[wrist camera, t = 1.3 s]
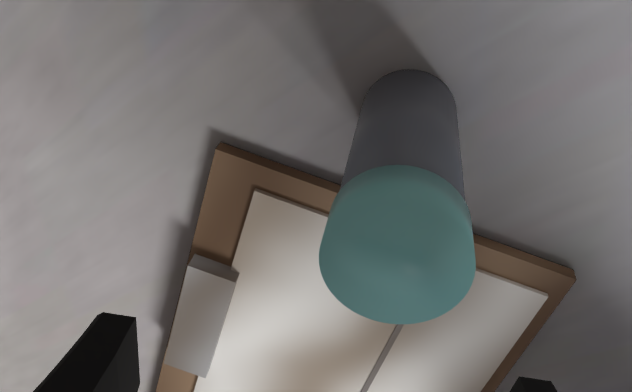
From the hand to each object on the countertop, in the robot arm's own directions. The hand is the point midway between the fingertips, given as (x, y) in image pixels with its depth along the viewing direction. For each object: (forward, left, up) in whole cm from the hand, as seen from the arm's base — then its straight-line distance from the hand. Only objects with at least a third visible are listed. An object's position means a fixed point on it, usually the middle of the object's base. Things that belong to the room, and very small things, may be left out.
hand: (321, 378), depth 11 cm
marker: (-1, -1, -11) cm, 11 cm away
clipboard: (-2, +10, -11) cm, 15 cm away
